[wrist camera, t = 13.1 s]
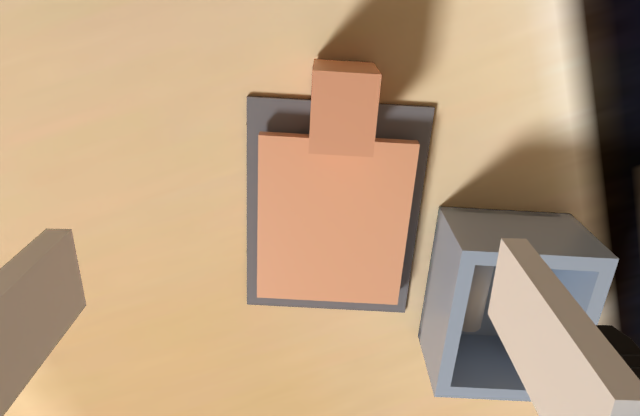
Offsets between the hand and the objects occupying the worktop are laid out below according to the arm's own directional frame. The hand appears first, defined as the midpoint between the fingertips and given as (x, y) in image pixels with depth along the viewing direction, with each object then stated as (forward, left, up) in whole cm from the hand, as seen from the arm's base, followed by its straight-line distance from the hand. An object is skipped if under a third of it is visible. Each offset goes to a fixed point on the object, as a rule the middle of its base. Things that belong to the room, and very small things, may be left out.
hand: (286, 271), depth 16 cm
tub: (+13, +15, -22) cm, 29 cm away
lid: (+5, +2, -21) cm, 22 cm away
